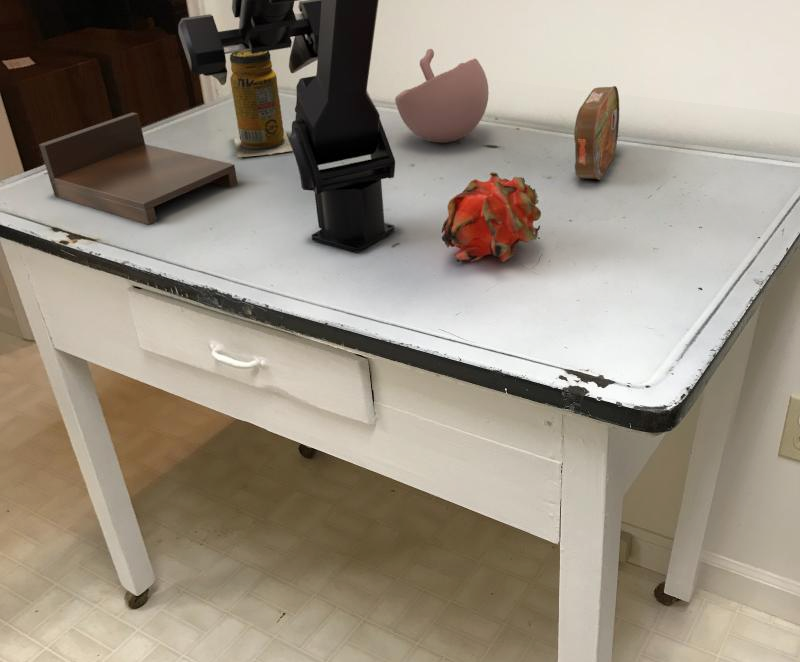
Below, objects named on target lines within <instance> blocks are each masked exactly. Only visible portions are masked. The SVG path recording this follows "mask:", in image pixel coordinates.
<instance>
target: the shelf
mask: <svg viewBox="0 0 800 662" xmlns="http://www.w3.org/2000/svg"><path fill="white" fill-rule="evenodd" d="M145 141H146V140H145V138H144V133H143V129H142V125H141V121H140V116H139V113H137V112H129V113H126V114H123V115H120V116H118V117H115V118H112V119H109V120H106V121H103V122H100V123H97V124H94V125H92V126H89V127H86V128H83V129H80V130H77V131H73V132H71V133H68V134H66V135H62V136H59V137H57V138H53V139H51V140H47V141H45V142H42V143H39V149H40V152H41V155H42V159H43V162H44V166H45V169H46V171H47V175H48V179H49V182H50V185H51V188H52V191H53V195H54V197H56V198H59V199H63V200H66V201H69V202H73V203H77V204H80V205H82V206H87V207H89V208H92V209H96V210H99V211H102V212H106V213H109V214H112V215H115V216H119V217H122V218H126V219H128V220H132V221H136V222H139V223H142V224H145V225H151V224H153V223H156V222H158V221H157V216H156V215H157V214H156V211H155V207H156V206H158V205H162V204H163V203H166V202H168V201H170V200H173V199H174V198H178V197H179V196H181V195H184V194H185V193H189V192H191V191H193V190H195V189H197V188H200V187H202V186H204V185H206V184H208V183H212V184H216V185H221V186H225V187H228V188H233V187H235V186H237V185H238V184H239V183H238V182H239V181H238V176H237V171H236V166H235V164H234V163H229V162H225V161H221V160H217V159H212V158H207V157H203V156H199V155H195V154H194V155H193V154H190V153H185V152H181V151H176V150H173V149H168V148H163V147H159V146H154V145H150V144H146V142H145Z"/></svg>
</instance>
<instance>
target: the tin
mask: <svg viewBox="0 0 800 662" xmlns="http://www.w3.org/2000/svg"><path fill="white" fill-rule="evenodd" d="M619 96H620V95H619V90H618V87H617V86H616V85H613V86H601V87H600V86H599V87H595V88H593V89H592V90H591V91H590V93H589V94H588V95H587V97H586V98H585V100H584V102H583V103H582V105H581V106H580V107H579V109H578V111H577V114H576V119H575V124H574V133H573V136H574V137H573V138H574V139H573V140H574V146H575V147H574V150H575V151H574V153H575V157H574V158H575V163H574V171H575V175H576V177H577V178H578V179H583V180H597V181H600V180H602V179H603V177H604V175H605V173H606V171H607V170H608V167H609V165H610V164H611V162H612V160H613V158H614V156H615V153H616V149H617V144H618V139H619V138H618V137H619V126H620V125H619V124H620V97H619Z"/></svg>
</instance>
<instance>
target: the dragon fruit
mask: <svg viewBox="0 0 800 662" xmlns="http://www.w3.org/2000/svg"><path fill="white" fill-rule="evenodd" d="M489 175H490V178H489V179H488V180H486V181H480V180H478V179H473V180H471V181H470V182H469V183H468V184H467V186H466V187H465V188H464V190H462V191H461V192H460V193H458V194H456V195H455V196H453V197H452V198H451V199H449V201H448V203H447V211H448V213H447V214H448V216H447V218H446V219H445V221H444V222H443V225H442V228H441V229H442V230H441V233H443V234H442V236H441V240H442V242H444V244H445V247H447V249H449V247H451V248H457V249H459V250H458V251H457V252H455V253H454V255H453V256H454V258H455V261H456V262H457V263H459V262H461V261H463V262H464V261H467V262H470V263H471V262H472V263H473V262H476V261H479V260H481V259H482V258H484V257H485V256H488V255H491V256H495V257H498V258H499V261H500V262H502V263H504V262H506V261H508V259H511V258H512V257H514V255H516V253H517V249H516V248H517V247H518V245H519V243H520V242H524V243H530V242H532V241H535V240H537V238H538V235H539V231H540V229H541V225H538V227H534V222H536V221H539V220H540V219H541V217H542V216H541V215H542V212H541V210H540V208H539V207H538V206H536V205H538V203H539V200H538V198H539V196H538V193H537V191H536V189H535V188H533V187H531V185H529V184H527V183H526V180H525V178H524V177H521V176H514V177H513V178H512V179H511V180H510V179H508V178H501V177H500V176H499V174H498V173H497V172H494V171H491V172H490V173H489Z"/></svg>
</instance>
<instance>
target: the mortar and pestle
mask: <svg viewBox="0 0 800 662" xmlns="http://www.w3.org/2000/svg"><path fill="white" fill-rule="evenodd" d="M434 57H435V51H434V49H432V48H428V49H427V50H426V52H425V55H424V56H423V57H422V58H421V59H420V60H419V67H420V70H421V72H422V74H423V77H424V79H425V81H424V82H422V83H420V84H418V85H417V86H414V87H412V88H408V89H404V90H403V91H400V93H398V94H397V95H396V96H395V98H394V101H395V106H396V108H397V111H398V114H399V116H400V118H401V120H402V121H403V123H404V124H405V126H406V127H407V128H408V130H410V131H411V132H412V133H413V134H414V135H416V136H417V137H419V138H421V139H423V140H425V141H429V142H432V143H440V144H441V143H451V142H455V141H457V140H460V139H462V138H464V137H466V136H467V135H469V134H470V133H471V132H472V131H473V130H474V129H476V127H477V126H478V125H479V124H480V123H481V121H482V119H483V117H484V115H485V113H486V110H487V107H488V102H489V94H490V93H489V81H488V79H487V78H488V77H487V76H486V72H485V70H484V68H483V67H482V65H481V63H480V62H479V60H478V59H477V58H473V59H470V60H467V61H466V62H460V63H459V64H458V65H456V66H455V67H454V68H451V69H449V70H447V71H444V72H442V73H439V74H437V75H435V74H434V72H433V69H432V66H431V63H432V60H433V58H434Z"/></svg>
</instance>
